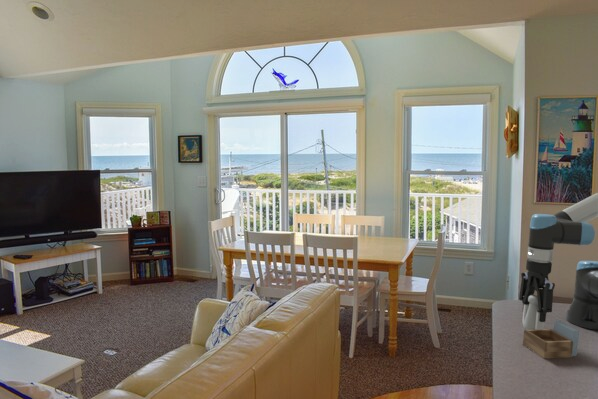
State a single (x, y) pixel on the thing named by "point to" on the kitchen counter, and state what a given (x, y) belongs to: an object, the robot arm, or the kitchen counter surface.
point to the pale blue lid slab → (568, 334)
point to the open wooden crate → (548, 343)
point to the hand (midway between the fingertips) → (532, 326)
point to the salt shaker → (531, 313)
